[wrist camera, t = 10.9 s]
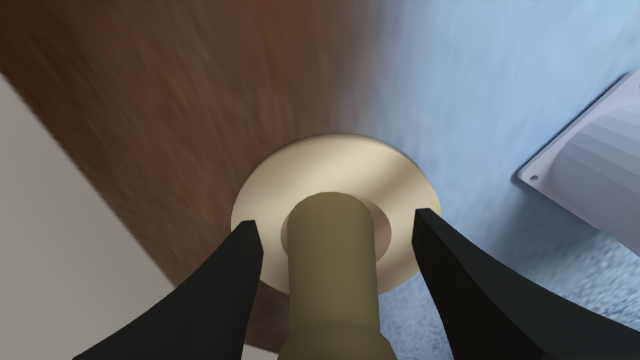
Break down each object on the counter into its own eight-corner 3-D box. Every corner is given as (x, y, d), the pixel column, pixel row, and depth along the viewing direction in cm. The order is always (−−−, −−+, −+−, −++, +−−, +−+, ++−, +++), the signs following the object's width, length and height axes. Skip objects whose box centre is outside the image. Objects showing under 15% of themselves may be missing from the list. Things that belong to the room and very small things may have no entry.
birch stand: (478, 196, 19) (490, 209, 18) (359, 305, 26) (361, 321, 24) (292, 87, 15) (290, 94, 14) (209, 249, 22) (202, 264, 21)
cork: (331, 268, 21) (340, 475, 11) (269, 229, 19) (217, 442, 9) (391, 225, 18) (465, 439, 9) (328, 174, 16) (339, 384, 7)
